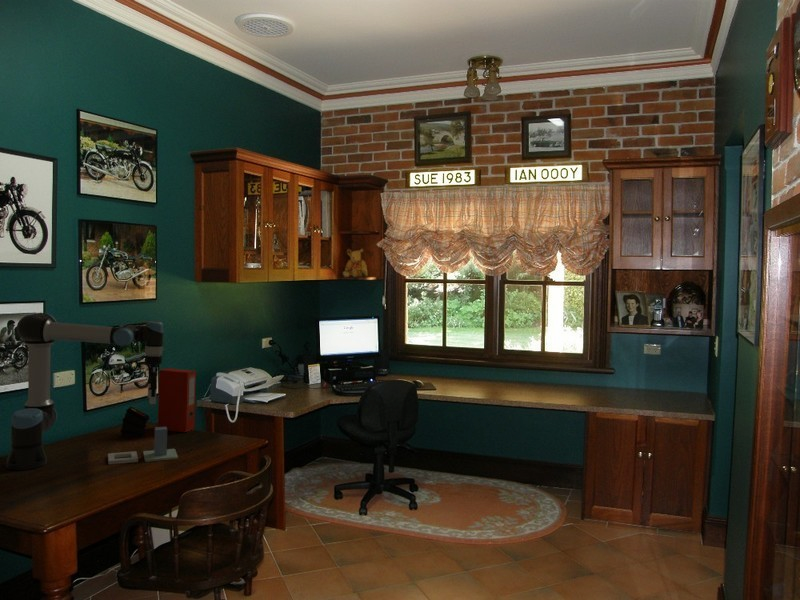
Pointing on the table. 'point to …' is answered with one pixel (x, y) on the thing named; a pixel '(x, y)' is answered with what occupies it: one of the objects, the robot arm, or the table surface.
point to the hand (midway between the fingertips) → (151, 400)
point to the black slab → (134, 423)
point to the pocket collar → (122, 460)
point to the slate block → (160, 441)
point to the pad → (151, 456)
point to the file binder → (176, 399)
